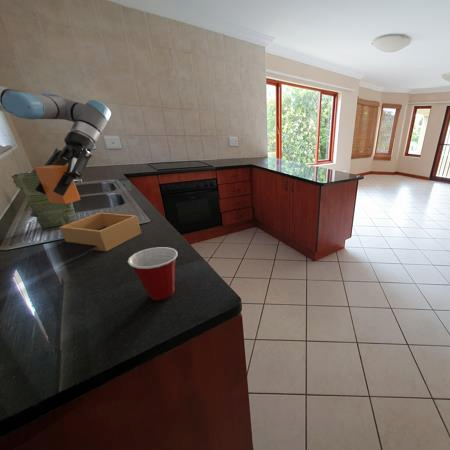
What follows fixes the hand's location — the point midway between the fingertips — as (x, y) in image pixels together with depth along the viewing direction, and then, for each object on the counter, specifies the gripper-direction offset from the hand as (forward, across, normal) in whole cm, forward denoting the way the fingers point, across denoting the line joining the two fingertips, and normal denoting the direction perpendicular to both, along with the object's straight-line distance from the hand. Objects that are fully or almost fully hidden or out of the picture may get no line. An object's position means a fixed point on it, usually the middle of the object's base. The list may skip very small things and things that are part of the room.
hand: (49, 192), depth 78 cm
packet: (0, 0, -5) cm, 5 cm away
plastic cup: (+25, -50, -5) cm, 56 cm away
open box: (+9, -5, -21) cm, 23 cm away
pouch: (+6, +23, -24) cm, 33 cm away
